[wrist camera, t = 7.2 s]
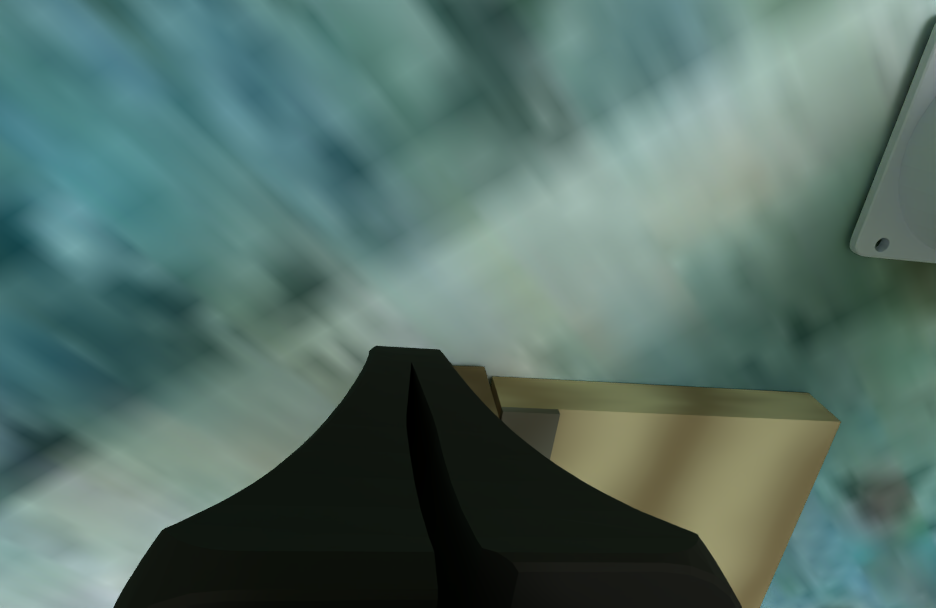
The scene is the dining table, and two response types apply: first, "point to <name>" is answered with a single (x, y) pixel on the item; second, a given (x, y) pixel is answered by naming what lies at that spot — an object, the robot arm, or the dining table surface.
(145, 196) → the dining table surface
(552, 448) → the stool top
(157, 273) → the dining table surface
